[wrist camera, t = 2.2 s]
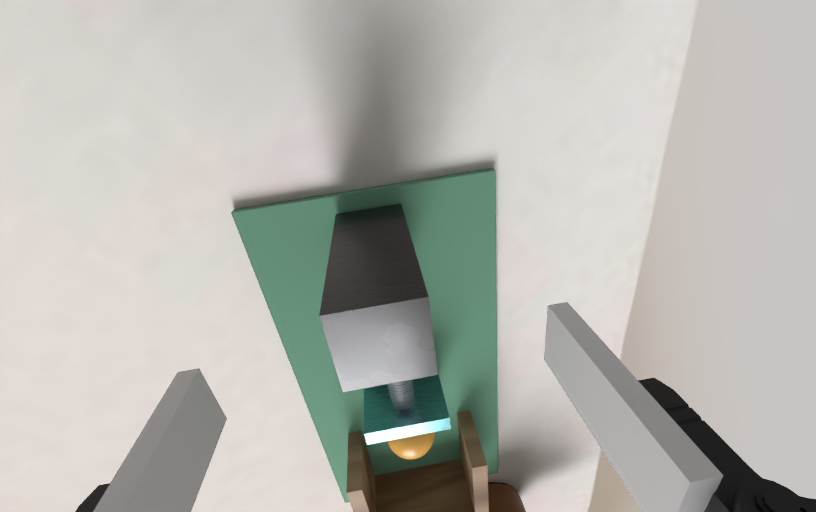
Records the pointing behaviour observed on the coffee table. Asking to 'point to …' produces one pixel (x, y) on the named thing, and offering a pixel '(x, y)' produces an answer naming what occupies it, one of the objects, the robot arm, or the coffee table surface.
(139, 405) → the coffee table surface
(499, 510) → the mug
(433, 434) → the ball
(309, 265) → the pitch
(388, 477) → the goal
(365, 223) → the rod
